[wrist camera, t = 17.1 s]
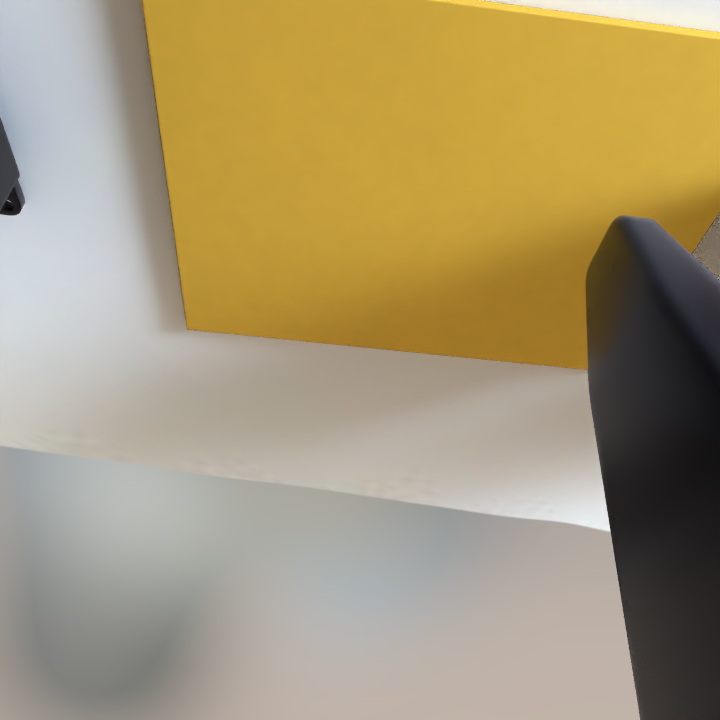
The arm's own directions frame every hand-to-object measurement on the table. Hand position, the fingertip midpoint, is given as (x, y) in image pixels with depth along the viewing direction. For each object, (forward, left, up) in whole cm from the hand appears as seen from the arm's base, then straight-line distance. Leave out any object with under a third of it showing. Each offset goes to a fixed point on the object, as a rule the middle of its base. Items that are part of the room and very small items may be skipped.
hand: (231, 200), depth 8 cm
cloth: (+5, -11, -13) cm, 17 cm away
